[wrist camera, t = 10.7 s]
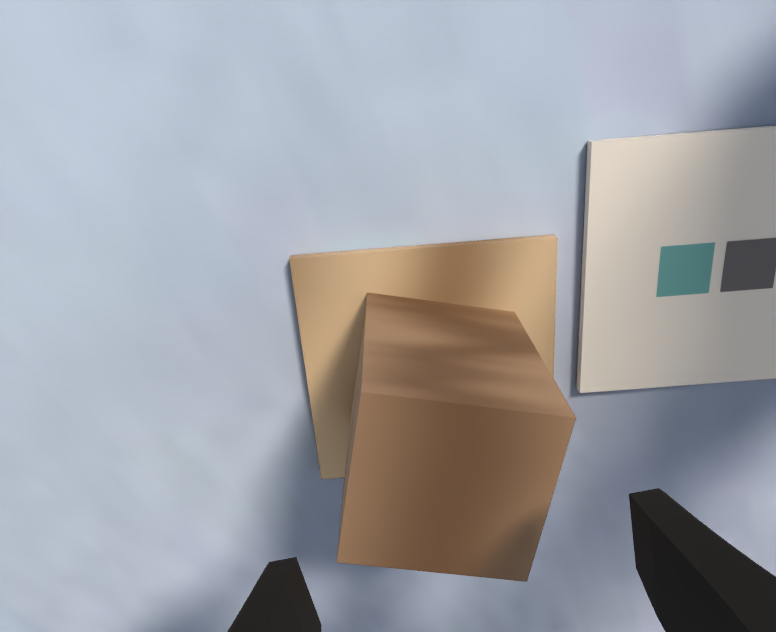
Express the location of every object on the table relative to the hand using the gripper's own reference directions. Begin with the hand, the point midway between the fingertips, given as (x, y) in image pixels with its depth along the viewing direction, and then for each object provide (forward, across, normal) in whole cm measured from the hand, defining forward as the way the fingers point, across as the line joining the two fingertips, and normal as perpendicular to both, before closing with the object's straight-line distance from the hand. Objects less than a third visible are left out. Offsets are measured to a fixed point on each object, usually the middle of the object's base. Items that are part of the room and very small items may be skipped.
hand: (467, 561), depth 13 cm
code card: (+10, -10, -1) cm, 14 cm away
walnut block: (+10, 0, 0) cm, 10 cm away
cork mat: (+10, 0, 0) cm, 10 cm away
